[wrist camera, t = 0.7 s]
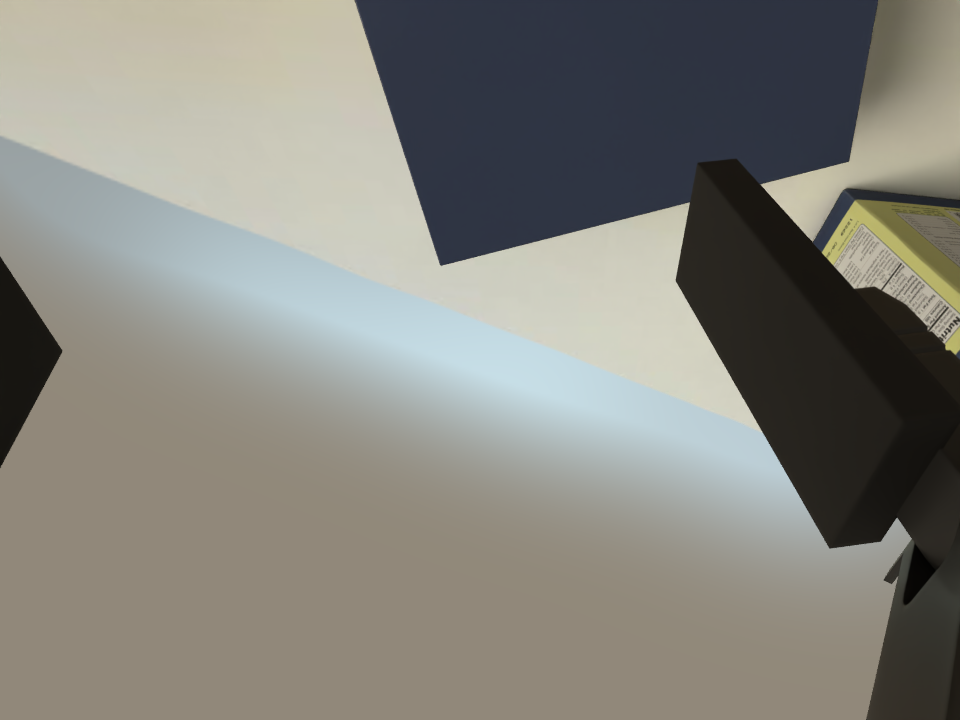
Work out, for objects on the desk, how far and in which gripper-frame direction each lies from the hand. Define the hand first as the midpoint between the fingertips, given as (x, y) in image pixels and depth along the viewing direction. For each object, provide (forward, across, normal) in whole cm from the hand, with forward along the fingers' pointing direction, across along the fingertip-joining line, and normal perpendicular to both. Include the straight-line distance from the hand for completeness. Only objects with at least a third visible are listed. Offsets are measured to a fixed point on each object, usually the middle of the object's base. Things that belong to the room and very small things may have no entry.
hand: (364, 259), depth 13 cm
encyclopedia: (+25, +12, -4) cm, 28 cm away
